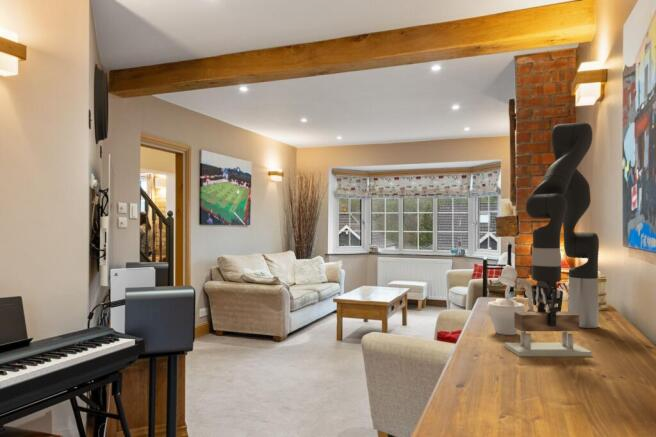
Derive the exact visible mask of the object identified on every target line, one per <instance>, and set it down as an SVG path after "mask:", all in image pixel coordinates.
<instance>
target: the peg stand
mask: <svg viewBox="0 0 656 437" xmlns="http://www.w3.org/2000/svg"><path fill="white" fill-rule="evenodd" d="M519 331H520V332H519V333H520V336H519V338H520V340H519V341H520V342H504V343H503V344H504V345H503V346H504V348H506V349H507V350H508V351H510V352H511V353H513V354H515V355H516V356H518V357H593V354H592V353H593V352H592V350H589V349H587V348H584V347H582V346H580V345H578V344H576V343H574V334H573V333H568V331H561V342H531V341H532V339H531V337H532V336H531V333H526V332H527V331H521V330H519Z"/></svg>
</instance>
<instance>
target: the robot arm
mask: <svg viewBox="0 0 656 437" xmlns="http://www.w3.org/2000/svg"><path fill="white" fill-rule="evenodd" d="M592 141H593V128H592V126H591V125H590V124H589V123H587V122H571V123H560V124H559V123H558V124H556V125H554V126H553V127H552V131H551V146H552V152H553V155H554V160H555V161H554V162H553V163H552V164H551V165H550V166H549V167H548V168H547V170H546V172H545V174H544V176H543V179H542V181H541V183H540V184H539V185H537V187H536V188H535V189H534V190H533V191H532V192H531V193H530V194H529V196H528V198H527V199H526V203H525V211H526V214H527V215H528V216H529V217H530V218H532V219H540V220H541V219H549V222H548V223H547V224H546V225H544V226H538V227H536V228H534V229H533V231H532V253H531V279H532V281H535V282H536V284H533V285H532V286H531V288H532V298H533V299H532V305H533V306H535V308H536V309H537V311H536V312H548V313H547V325H548V326H556V313H557V312H562V306H563V298H564V291H563V290H559V289H558V287H557V283H559V282H561V281H562V254H561V232H562V230H563V249H564V253H565V255H566V256H567V258H572V259H587V261H586V262H585V263H583V264H581V265H579V266H575V267H571V268H569V270H568V297H567V298H568V299H567V300H568V301H567V302H568V304H567V306H568V307H567V308H568V311H567V312H572V313H575V314H578V315H579V328H583V329H585V328H586V329H596V328H599V249H600V240H599V239H600V238H599V236H598V233H596V232H585V231H584V232H576V231H574V230H575V227H576V225H577V224H578V222H579V221H580V219H581V218H582V217H583V216H584V214H585V213H586V212H587V210H588V209H589V207H590V205H591V200H592V199H591V187H590V184H589V182H588V180H587V179H586V177H585V176H584V175H583V174H582V173H581V171H579V169H578V167H579V166H580V163H581V162H582V161H583V159H584V157H585V156H586V155H587V153H588V152H589V150H590V148H591V145H592ZM562 227H563V228H562ZM536 292H537V293H536ZM550 305H551V306H550ZM544 308H545V309H544Z"/></svg>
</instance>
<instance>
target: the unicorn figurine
mask: <svg viewBox="0 0 656 437" xmlns="http://www.w3.org/2000/svg"><path fill="white" fill-rule="evenodd" d="M514 282H515V284H516V290H517V291H518V292H519V291H521V289H522V287H523V288H524V289H525V292H524V293H525V296H526V298H527V300H526V302H527V305H528V309H527V310H526V312H534V305H533V298H532V288H531V286H532V285H534V284H533V283H532V282H530V281H529V280H527V279H526V278H518V279H517V278H516V279H515V281H514ZM536 293H537V292H536ZM550 306H551V305H550ZM544 309H546V308H544Z"/></svg>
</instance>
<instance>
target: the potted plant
mask: <svg viewBox="0 0 656 437" xmlns="http://www.w3.org/2000/svg"><path fill="white" fill-rule="evenodd" d="M498 262H499V261H496V265H498V264H499V263H498ZM493 275H494V276H495V272H494V271H493ZM517 277H518V272H517V269H515V268H514V266H512V265H510V264H505V266H504V267H503V269H502V270H501V275H498V278H497V280H498V281H499V282H500V283H501V284H502V285H505V286H506V287H505V292H504V298H496V299H495V300H493V301H488V302H487V304H486V305H487V308H486V310H487V312H486V313H487V316H489V317H490V320H491V323H492V325H493V329H494V332H495V333H497V334H499V335H503V336H514V335H516V334H517V333H518V331H519V329H517V328H515V327H514V312H526V311H525V310H526V304H524V303H522V302H517V301H516V300H514V299H512V298H510V290H511V288H513V287H515V286H517V284H516V283H515V282H514V281H516V279H517Z"/></svg>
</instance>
